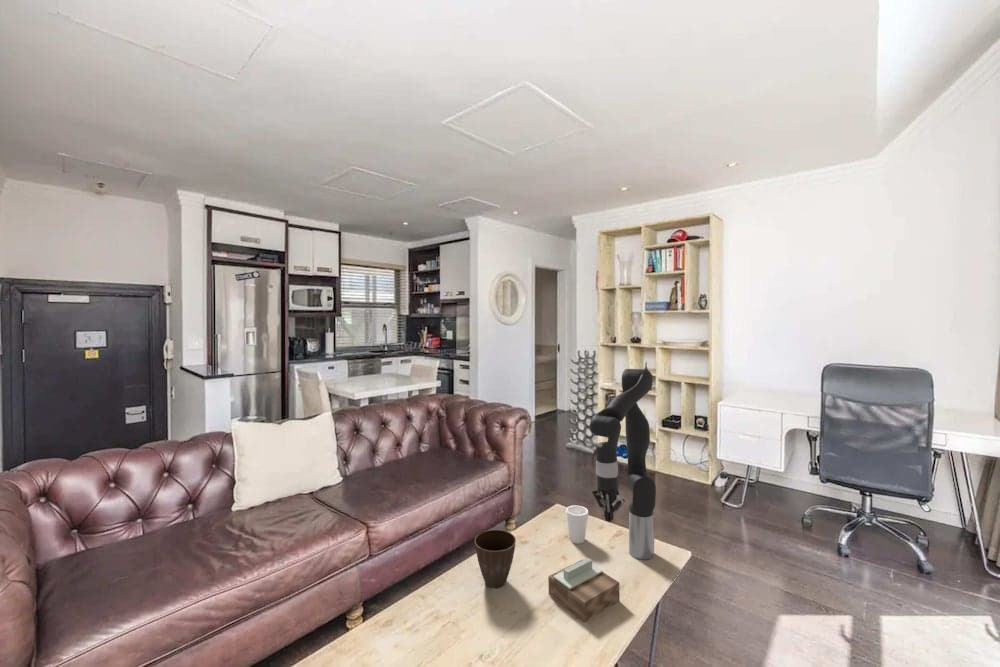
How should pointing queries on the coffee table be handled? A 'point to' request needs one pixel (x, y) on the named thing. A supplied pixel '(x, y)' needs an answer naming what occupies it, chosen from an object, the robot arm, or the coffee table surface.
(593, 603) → the brown square open box
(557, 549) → the coffee table surface
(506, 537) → the plant pot
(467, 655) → the coffee table surface
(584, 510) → the foam cup
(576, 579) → the slide cover
